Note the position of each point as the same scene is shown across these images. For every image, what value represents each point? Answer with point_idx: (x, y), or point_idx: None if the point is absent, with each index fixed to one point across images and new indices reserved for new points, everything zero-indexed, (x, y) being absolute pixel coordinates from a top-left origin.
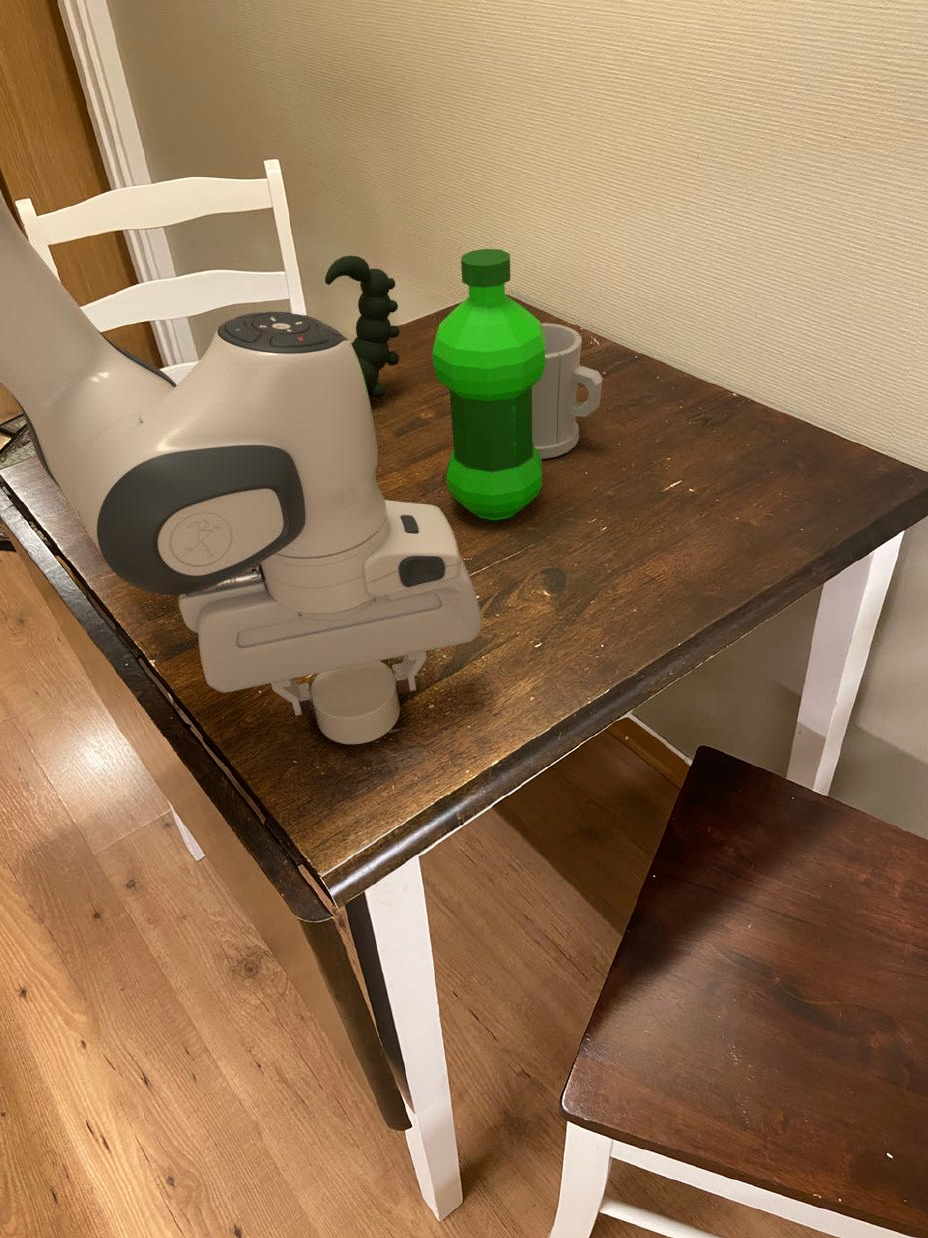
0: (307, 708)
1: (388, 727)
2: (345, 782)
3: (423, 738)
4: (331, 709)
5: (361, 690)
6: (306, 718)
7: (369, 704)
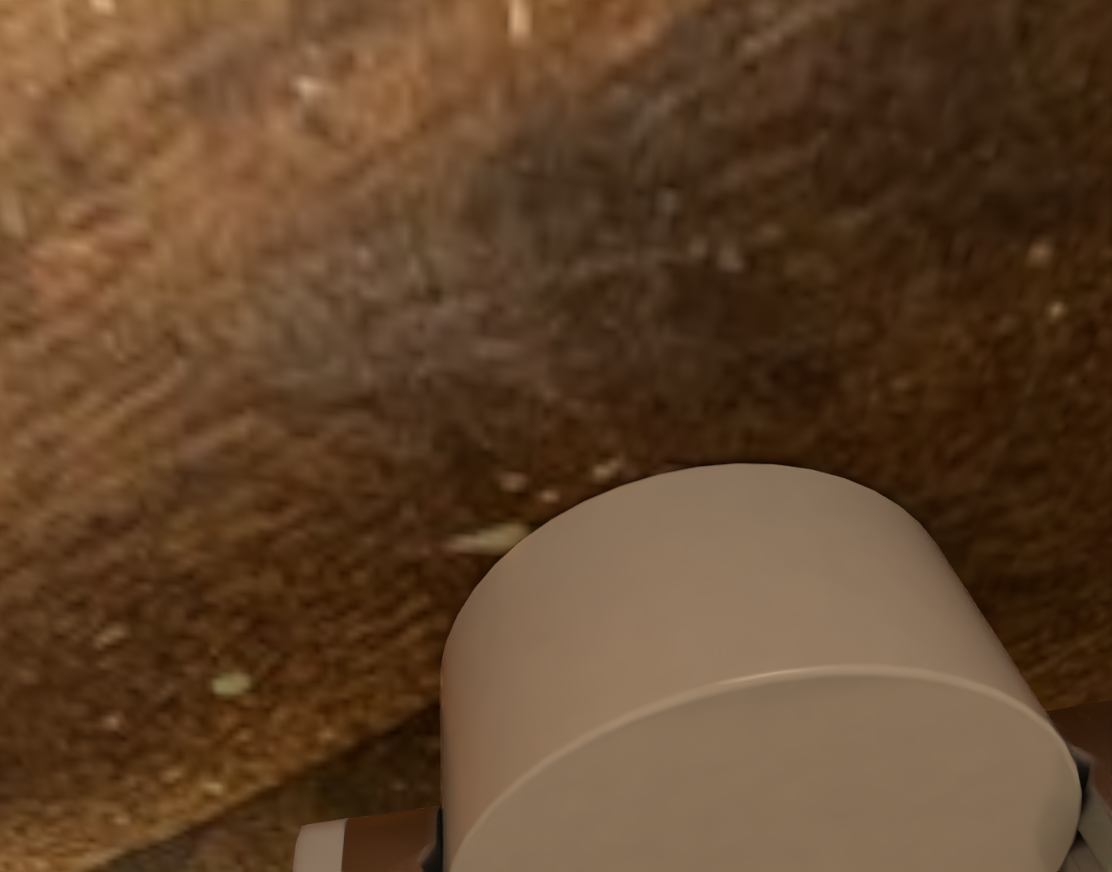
0: (1109, 747)
1: (522, 564)
2: (903, 137)
3: (269, 463)
4: (978, 742)
5: (713, 866)
6: None
7: (670, 767)
